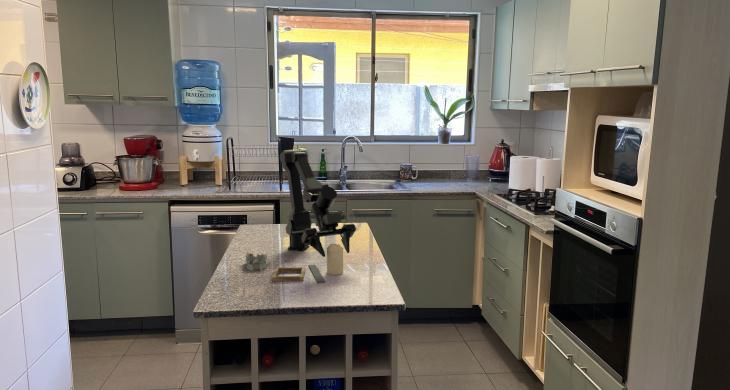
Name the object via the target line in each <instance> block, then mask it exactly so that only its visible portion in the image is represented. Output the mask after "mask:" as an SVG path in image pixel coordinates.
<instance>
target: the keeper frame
mask: <svg viewBox="0 0 730 390" xmlns="http://www.w3.org/2000/svg"><path fill="white" fill-rule="evenodd" d="M279 273H280V274H281V273H300V275H279ZM278 275H279V276H278ZM305 275H306V266H301V267H300V266H291V267H290V266H286V267H284V266H281V267H279V266H278V267H275V269H274V272H273V274H272V276H271V281H272V282H276V283H277V282H280V283H281V282H285V283H286V282H304V279H305Z"/></svg>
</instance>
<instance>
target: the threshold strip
mask: <svg viewBox="0 0 730 390" xmlns="http://www.w3.org/2000/svg"><path fill="white" fill-rule="evenodd" d="M308 268H309V269H310V271H311V273H312V275H313V277H314V279H315V280H316V283H317V284H321V283H323V284H324V283H326V280H325V278H324V277H323V275H322V273H321V272H320V270H319V268H318V267H317V265H316V264H308Z"/></svg>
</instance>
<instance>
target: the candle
mask: <svg viewBox="0 0 730 390" xmlns="http://www.w3.org/2000/svg"><path fill="white" fill-rule="evenodd" d="M326 273H327V274H328V275H332V276H337V275H342V274H343V273H344V247H343V246H341V244H336V243H330V244H329V245H328V247H327V248H326Z"/></svg>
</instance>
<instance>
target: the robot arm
mask: <svg viewBox="0 0 730 390" xmlns="http://www.w3.org/2000/svg"><path fill="white" fill-rule="evenodd" d="M279 161H280V162H281V166H282V168H283V170H284V171H285V172H286V173H287V174H286V175H287V180H288V181H287V182H288V189H289V190H288V191H289V197H290V204H291V205H290V206H291V210H290V213H289V215H288V221H287V224H286V226H285V233H286V235H289V247H287V250H292V251H301V252H302V251H304V250H305V249H308V248H310V247H311V248H313V249H314V250H316V251H317V252H318V253H319V254H320V256H322V258H324V257H326V254H325V253H326V251H325V250H324V248H323V245H322V242H321V238H322V237H329V236H337V235H338V236H339V235H340V238H341V239H340V241H341V243H342V245H343V249H344V250H345V252H346V253H347V254H349V253H350V239H351V238H352V237H353V236H354V234H355V232H356V231H357V227H356V225H355V224H354V223H352V222H351V223H344V224H342V227H341V228H338V227H339V223H341V222H342V221H343V220H345V219H346V216H345V213H344V210H338V211H336V212H332V213H331V211H330V208H332V205H333V204H334V203H335V200H336V198H337V196H338V192H337V191H336V189H334V188H333V187H332V186H329V184H327V183H326V184H323V183H322V182H321V181H319V180H318V179H317V178H316V176H315V174H314V172H313V169H312V167H311V165H310V162H309V160H308V154H307V153H306V152H304V151H300V150H299V149H288V150H287V149H286V150H284V149H283V150H282V152H281V153H280V154H279ZM301 181H302V182H301ZM302 184H303V188H302ZM302 189H303V191H302ZM304 200H305V202H306V203H308V204H309V203H311V204H312V203H313V204H312V205H311V207H310V211H309V210H307V209H306V208H305V205H304ZM310 213H311V214H313V216H314V221H316V222H315V226H316V227H317V228H315V227H312V219H311V216H310Z"/></svg>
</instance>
